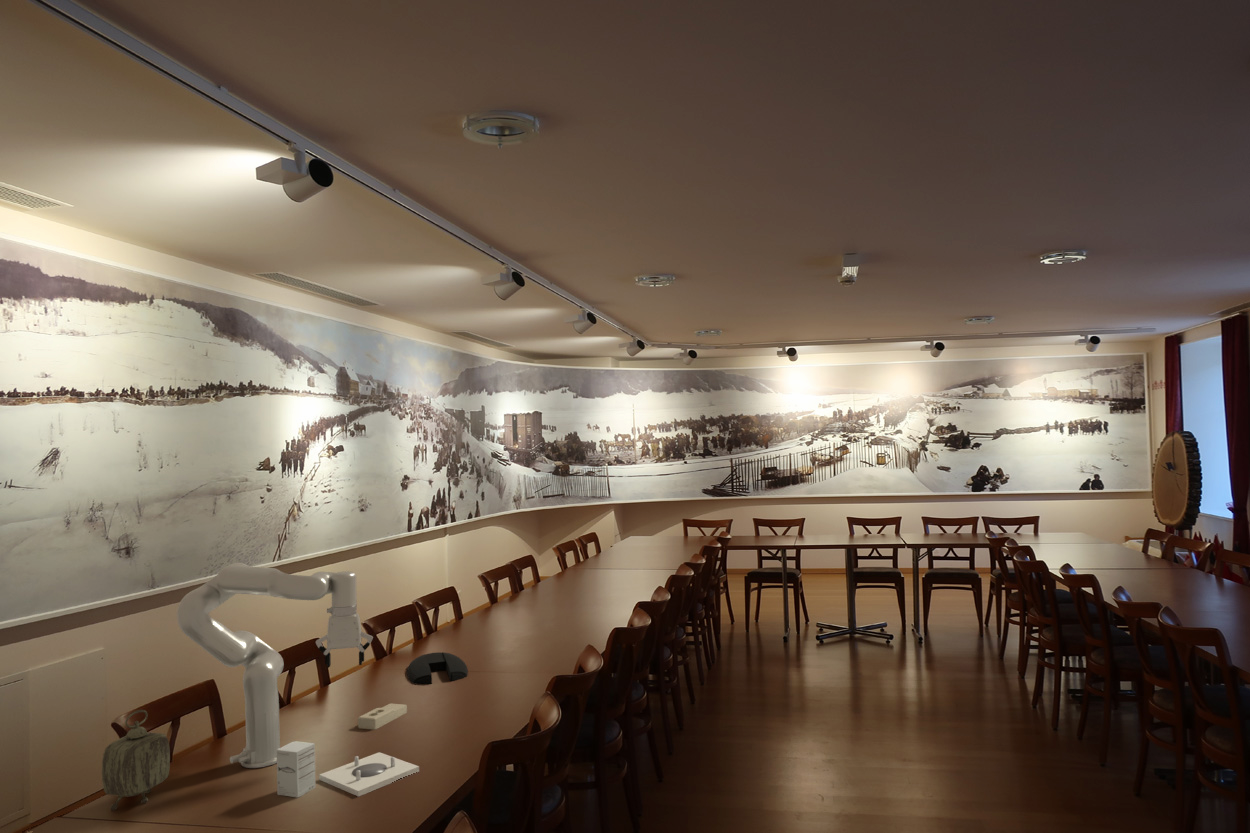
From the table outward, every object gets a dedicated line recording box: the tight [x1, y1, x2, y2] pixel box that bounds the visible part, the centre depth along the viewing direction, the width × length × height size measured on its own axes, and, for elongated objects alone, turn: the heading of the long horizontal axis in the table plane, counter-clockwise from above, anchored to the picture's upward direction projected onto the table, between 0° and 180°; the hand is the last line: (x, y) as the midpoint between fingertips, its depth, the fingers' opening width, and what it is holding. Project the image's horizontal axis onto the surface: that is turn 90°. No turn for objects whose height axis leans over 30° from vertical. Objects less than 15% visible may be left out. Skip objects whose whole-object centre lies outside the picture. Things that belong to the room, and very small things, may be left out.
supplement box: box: [276, 740, 316, 799], centre depth 223 cm, size 7×7×13 cm
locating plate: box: [318, 752, 420, 797], centre depth 232 cm, size 20×20×4 cm
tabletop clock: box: [101, 709, 171, 811], centre depth 220 cm, size 14×9×25 cm, turn 163°
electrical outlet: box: [357, 702, 408, 730], centre depth 281 cm, size 7×4×18 cm
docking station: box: [406, 652, 469, 685], centre depth 343 cm, size 25×40×5 cm, turn 18°
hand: (344, 665), depth 253 cm, fingers open, 9 cm apart
